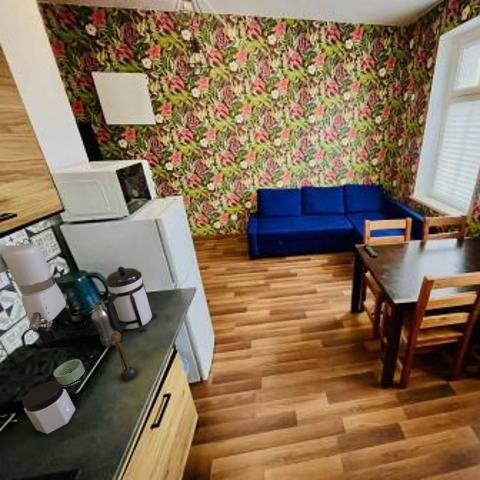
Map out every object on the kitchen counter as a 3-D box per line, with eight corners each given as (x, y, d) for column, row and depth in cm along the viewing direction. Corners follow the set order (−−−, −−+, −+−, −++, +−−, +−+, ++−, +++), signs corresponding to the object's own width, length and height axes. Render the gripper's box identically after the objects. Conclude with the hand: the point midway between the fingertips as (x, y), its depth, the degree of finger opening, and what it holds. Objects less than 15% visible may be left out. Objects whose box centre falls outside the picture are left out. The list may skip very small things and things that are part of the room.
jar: (63, 430, 80) (48, 403, 75) (30, 437, 78) (12, 410, 73) (80, 403, 88) (67, 377, 83) (50, 408, 86) (35, 382, 81)
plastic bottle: (103, 351, 108) (87, 311, 100) (102, 341, 112) (86, 302, 105) (122, 344, 111) (108, 304, 104) (120, 335, 116) (107, 296, 109)
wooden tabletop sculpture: (133, 382, 95) (118, 339, 87) (118, 385, 94) (101, 341, 86) (139, 369, 100) (124, 327, 92) (124, 371, 99) (109, 329, 91)
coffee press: (113, 323, 123) (93, 266, 111) (152, 309, 133) (137, 255, 121) (119, 345, 111) (96, 283, 99) (161, 327, 121) (145, 270, 109)
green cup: (54, 390, 92) (48, 379, 89) (65, 373, 98) (60, 362, 96) (80, 384, 94) (75, 373, 92) (90, 368, 100) (85, 357, 98)
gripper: (39, 272, 86) (59, 315, 93) (-1, 303, 71) (26, 351, 78) (67, 269, 88) (85, 311, 95) (34, 298, 73) (58, 346, 80)
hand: (59, 329), depth 86 cm, fingers open, 9 cm apart
